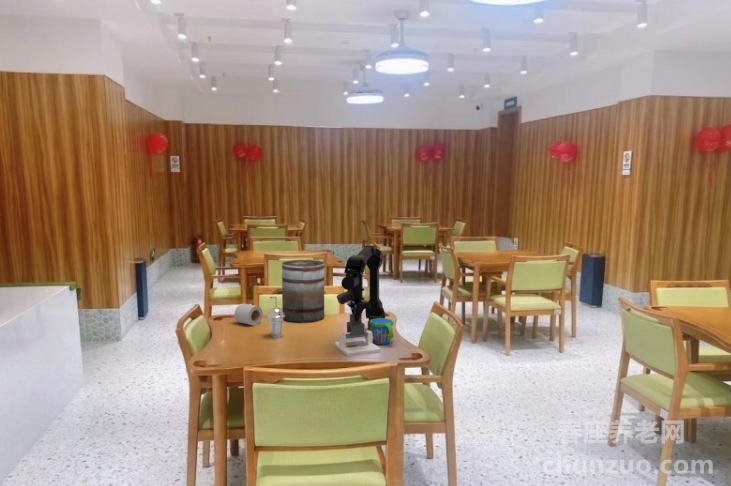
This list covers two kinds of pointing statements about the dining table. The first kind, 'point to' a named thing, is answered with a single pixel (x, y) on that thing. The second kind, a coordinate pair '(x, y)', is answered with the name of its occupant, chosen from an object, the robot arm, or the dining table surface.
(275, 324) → the cup with straw
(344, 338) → the white square base
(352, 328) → the bracket
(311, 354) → the dining table surface
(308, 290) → the barrel
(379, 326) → the snack cup
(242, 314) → the toilet paper
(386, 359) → the dining table surface
